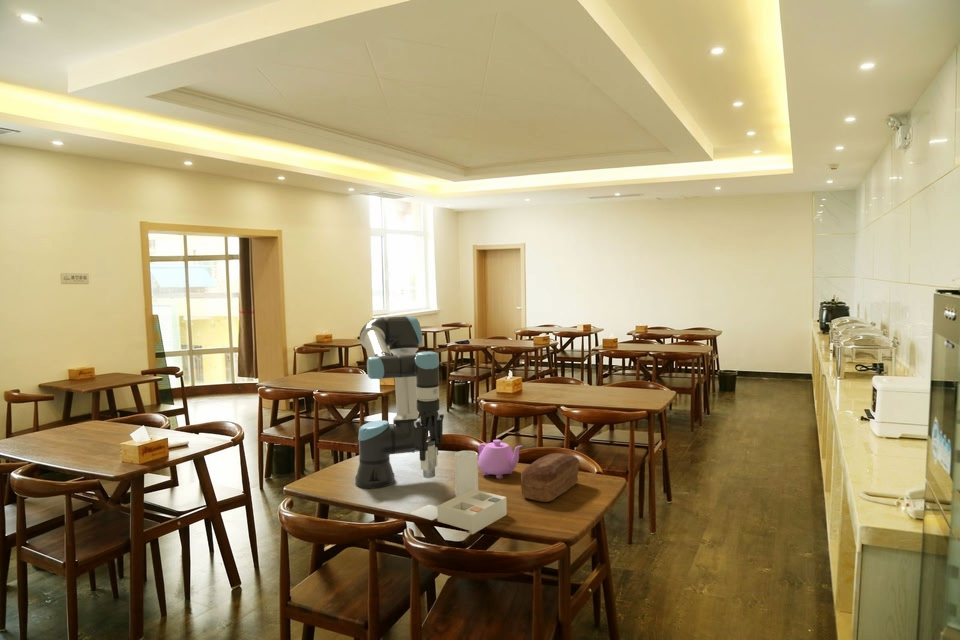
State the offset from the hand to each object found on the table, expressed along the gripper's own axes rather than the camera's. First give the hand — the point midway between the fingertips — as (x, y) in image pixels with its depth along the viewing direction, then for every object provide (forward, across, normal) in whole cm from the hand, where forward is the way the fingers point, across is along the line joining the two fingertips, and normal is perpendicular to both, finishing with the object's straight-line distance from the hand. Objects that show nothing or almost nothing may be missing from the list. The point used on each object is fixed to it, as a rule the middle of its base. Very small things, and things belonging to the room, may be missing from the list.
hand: (429, 467), depth 204 cm
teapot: (+17, +48, +4) cm, 51 cm away
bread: (+17, +42, -22) cm, 51 cm away
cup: (+17, +20, -1) cm, 26 cm away
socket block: (+16, +5, -15) cm, 22 cm away
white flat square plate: (+16, 0, -1) cm, 16 cm away
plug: (+3, 0, 0) cm, 3 cm away
